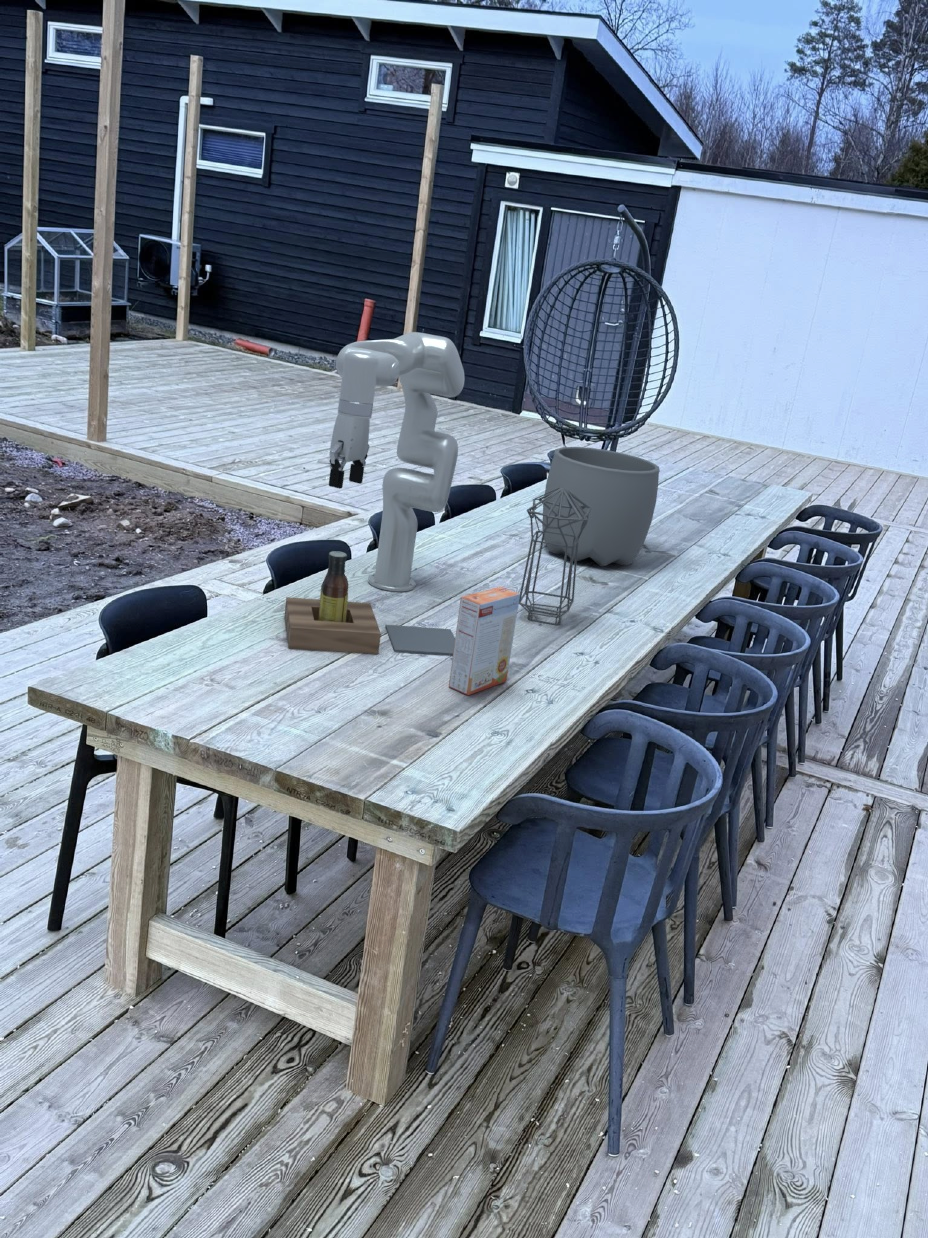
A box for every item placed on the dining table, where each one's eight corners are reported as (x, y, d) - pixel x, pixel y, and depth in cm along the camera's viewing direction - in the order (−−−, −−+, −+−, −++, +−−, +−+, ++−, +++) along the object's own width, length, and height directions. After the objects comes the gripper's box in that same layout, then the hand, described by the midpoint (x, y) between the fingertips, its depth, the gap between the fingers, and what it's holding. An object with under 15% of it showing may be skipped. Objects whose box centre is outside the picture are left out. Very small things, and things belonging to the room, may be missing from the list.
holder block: (284, 616, 267) (286, 597, 265) (367, 622, 271) (370, 603, 270) (288, 648, 248) (290, 627, 247) (378, 654, 253) (380, 633, 251)
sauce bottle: (330, 628, 264) (340, 547, 258) (349, 637, 261) (359, 555, 254) (310, 633, 259) (319, 550, 253) (329, 642, 256) (338, 558, 249)
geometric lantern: (569, 633, 286) (590, 499, 274) (508, 622, 288) (527, 489, 277) (576, 614, 301) (596, 486, 289) (518, 604, 303) (536, 476, 291)
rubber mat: (385, 626, 271) (385, 624, 270) (450, 631, 274) (450, 629, 274) (394, 652, 256) (394, 649, 256) (462, 656, 260) (463, 654, 259)
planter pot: (523, 555, 348) (540, 455, 338) (547, 533, 379) (563, 441, 369) (634, 580, 340) (655, 478, 330) (649, 556, 371) (669, 462, 360)
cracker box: (486, 673, 252) (500, 585, 245) (507, 682, 249) (522, 593, 242) (445, 686, 241) (459, 594, 234) (467, 696, 238) (482, 603, 231)
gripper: (357, 403, 258) (348, 477, 263) (321, 407, 242) (312, 485, 247) (387, 410, 256) (377, 484, 261) (352, 414, 240) (342, 492, 245)
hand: (345, 484), depth 254 cm, fingers open, 9 cm apart
